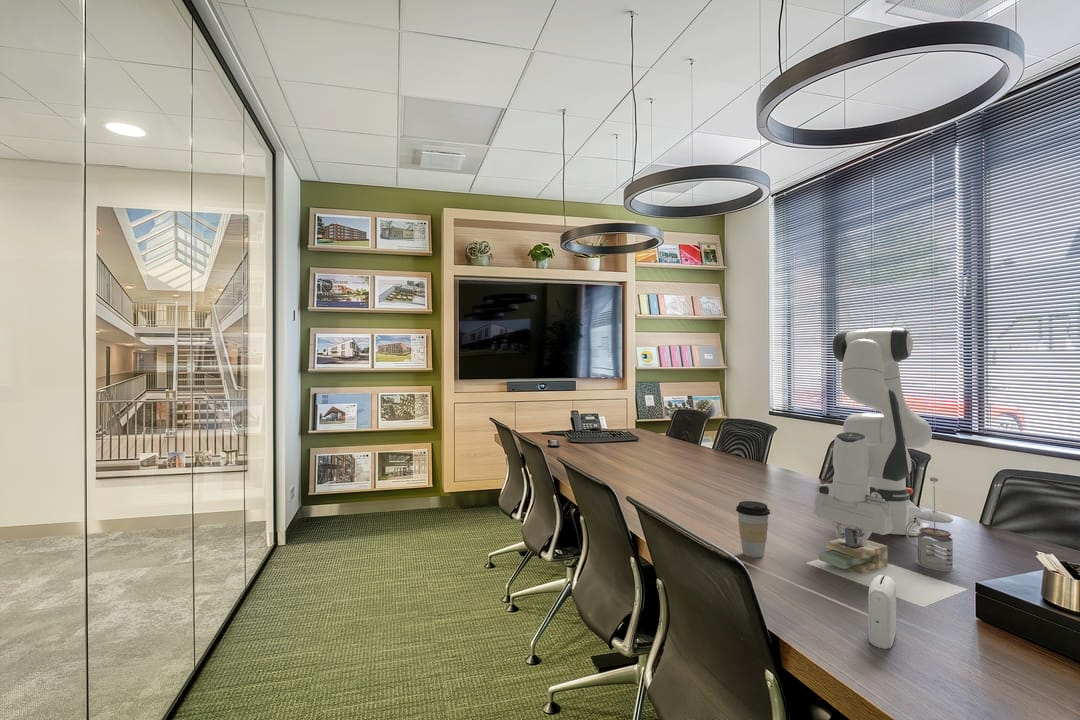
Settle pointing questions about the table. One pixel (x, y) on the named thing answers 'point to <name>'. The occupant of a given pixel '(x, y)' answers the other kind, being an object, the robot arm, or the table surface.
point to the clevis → (855, 556)
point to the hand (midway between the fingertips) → (851, 541)
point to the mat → (900, 582)
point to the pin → (851, 537)
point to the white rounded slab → (882, 611)
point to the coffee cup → (753, 527)
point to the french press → (942, 540)
